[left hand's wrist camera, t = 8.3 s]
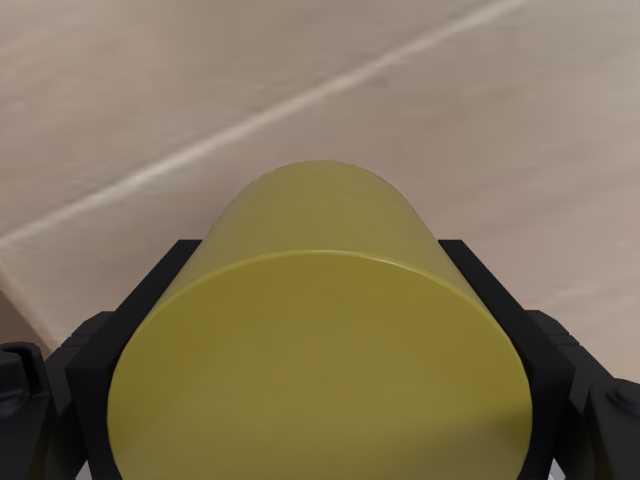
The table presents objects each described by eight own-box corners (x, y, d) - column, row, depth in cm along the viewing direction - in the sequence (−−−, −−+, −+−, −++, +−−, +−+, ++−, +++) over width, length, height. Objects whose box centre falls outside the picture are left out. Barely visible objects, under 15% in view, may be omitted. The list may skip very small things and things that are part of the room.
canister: (473, 253, 15) (625, 421, 7) (334, 391, 17) (344, 629, 9) (301, 109, 13) (277, 143, 6) (170, 282, 15) (28, 470, 8)
